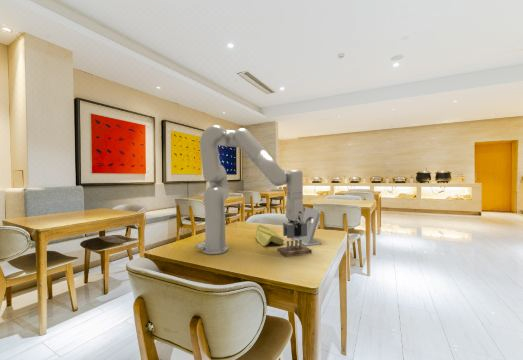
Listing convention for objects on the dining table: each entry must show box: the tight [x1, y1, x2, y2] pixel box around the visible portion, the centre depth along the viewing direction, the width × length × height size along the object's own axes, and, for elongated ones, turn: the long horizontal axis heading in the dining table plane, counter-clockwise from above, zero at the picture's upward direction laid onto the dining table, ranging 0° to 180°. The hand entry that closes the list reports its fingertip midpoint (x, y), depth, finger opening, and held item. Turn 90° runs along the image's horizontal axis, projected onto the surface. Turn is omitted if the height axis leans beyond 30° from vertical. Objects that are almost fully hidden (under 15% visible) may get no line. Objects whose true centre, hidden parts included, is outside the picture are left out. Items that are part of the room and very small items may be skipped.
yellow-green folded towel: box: [255, 224, 285, 247], centre depth 130 cm, size 20×7×10 cm
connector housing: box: [282, 221, 307, 239], centre depth 111 cm, size 10×5×6 cm, turn 110°
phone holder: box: [290, 206, 322, 247], centre depth 130 cm, size 17×10×18 cm, turn 22°
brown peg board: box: [276, 240, 312, 258], centre depth 112 cm, size 14×8×6 cm, turn 110°
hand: (295, 233), depth 111 cm, fingers closed on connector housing, 5 cm apart
